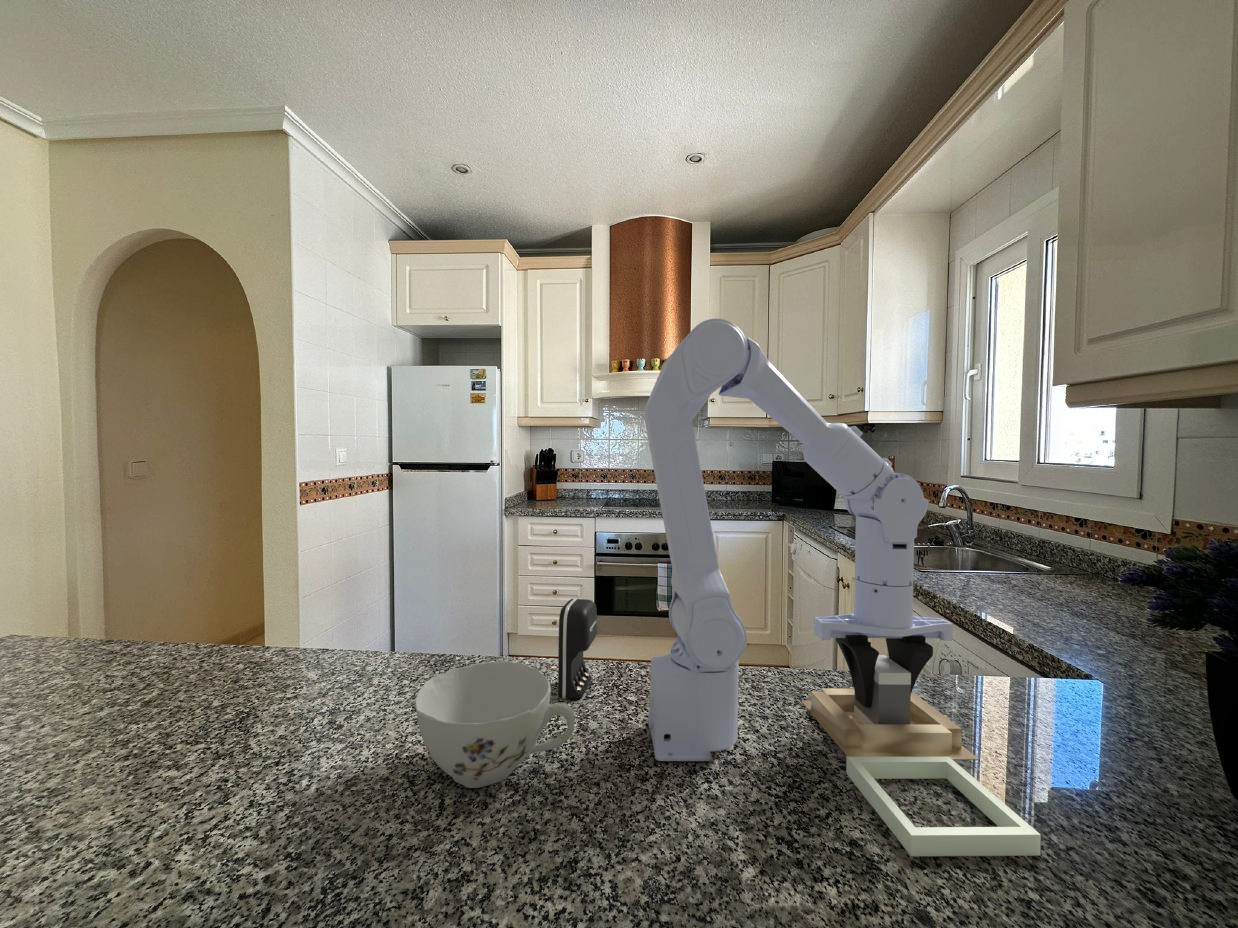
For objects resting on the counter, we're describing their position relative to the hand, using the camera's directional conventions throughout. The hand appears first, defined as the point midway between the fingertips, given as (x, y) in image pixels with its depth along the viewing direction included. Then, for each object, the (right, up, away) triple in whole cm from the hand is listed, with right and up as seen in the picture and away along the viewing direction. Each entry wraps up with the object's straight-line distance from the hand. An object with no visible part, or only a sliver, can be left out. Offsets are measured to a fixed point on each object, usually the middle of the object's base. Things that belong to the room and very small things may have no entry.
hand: (881, 703), depth 55 cm
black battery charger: (-34, -3, +10) cm, 36 cm away
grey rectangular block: (0, -3, 0) cm, 3 cm away
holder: (0, -4, 0) cm, 4 cm away
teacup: (-41, -3, -7) cm, 42 cm away
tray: (-3, -4, -13) cm, 14 cm away
